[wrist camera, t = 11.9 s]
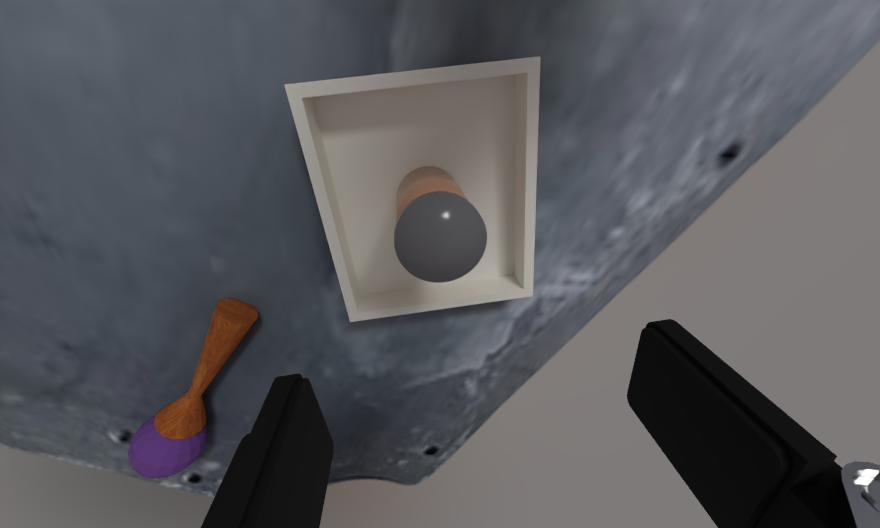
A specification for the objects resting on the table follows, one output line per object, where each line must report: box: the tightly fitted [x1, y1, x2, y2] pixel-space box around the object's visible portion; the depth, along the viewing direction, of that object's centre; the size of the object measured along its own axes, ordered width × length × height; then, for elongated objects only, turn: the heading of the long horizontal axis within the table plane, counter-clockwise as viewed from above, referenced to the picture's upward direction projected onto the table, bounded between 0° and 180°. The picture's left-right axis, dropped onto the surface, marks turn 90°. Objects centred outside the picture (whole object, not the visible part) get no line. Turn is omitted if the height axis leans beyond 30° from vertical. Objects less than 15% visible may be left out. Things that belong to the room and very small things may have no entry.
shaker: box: [394, 166, 487, 283], centre depth 23 cm, size 5×5×9 cm
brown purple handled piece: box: [128, 298, 258, 479], centre depth 31 cm, size 6×6×20 cm
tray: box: [284, 56, 541, 322], centre depth 26 cm, size 18×16×4 cm
